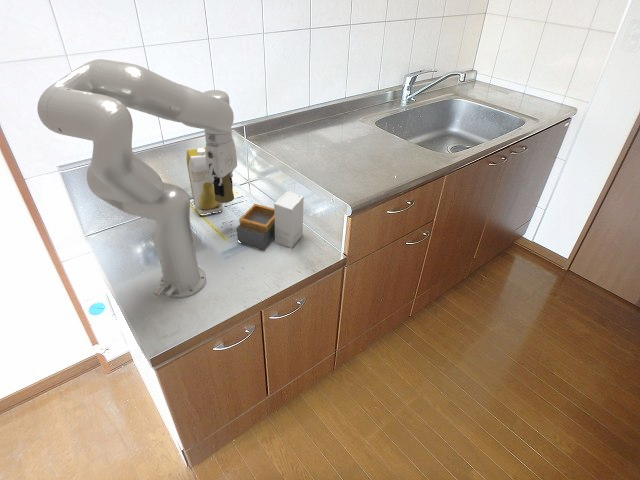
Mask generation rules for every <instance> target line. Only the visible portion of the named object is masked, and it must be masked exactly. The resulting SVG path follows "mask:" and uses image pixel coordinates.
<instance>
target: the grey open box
mask: <svg viewBox="0 0 640 480" xmlns="http://www.w3.org/2000/svg"><path fill="white" fill-rule="evenodd" d="M238 221H239V224H238V226H237V227H236V237H237V241H238V240H239V241H240V242H241V244H240V245H243V246H244V245H245V246H247V247H250V248H254V249H257V250H260V251H263V252H264V251H266V249H267V248H268V247H269V246H270V245H271V243H272V242H274V241H275V215H274V207H268V206H265V205H262V204H259V203H258V204H257V203H254V204H253V205H252V206H250V208H249V209H248V210H247V211H246V212H245V213H244V214H243V215H242V216H241V217H240V218H239V220H238Z"/></svg>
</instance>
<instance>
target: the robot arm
mask: <svg viewBox="0 0 640 480" xmlns="http://www.w3.org/2000/svg"><path fill="white" fill-rule="evenodd" d="M230 103H231V102H230V97H229V94H228V93H227V92H225V91H223V90H221V89H211V90H206V91H204V92H203V91H199V90H196V89H195V88H192V87H189V86H187V85H183V84H182V83H181V84H180V83H177V82H175V81H173V80H171V79H168V78H166V77H164V76H162V75H159V74H158V73H156V72H154V71H153V70H152V71H151V70H149V69H147V68H146V67H143V66H141V65H138V64H134V63H129V62H123V61H118V60H117V61H116V60H110V59H103V58H102V59H101V58H100V59H99V58H97V59H93V60H91V61H88V62H86V63H84V64H82V65H80V66H79V67H77V68H75V69H74V70H71V72H69V73H67V74H66V75H65V76H64V77H61V78H60V79H59V80H57V81H56V82H54V83H52V84H51V85H50V86H49V87H47V88H46V89H45V90H43V92H42V94H41V95H40V96H39V100H38V101H37V115H38V117H39V119H40V121H41V123H42V124H43V125H44V126H45V127H46V128H47V129H48V130H49V131H52V132H54V133H56V134H59V135H61V136H65V137H66V136H68V137H72V138H78V139H82V140H87V141H92V143H93V145H92V147H93V148H92V155H91V156H92V157H91V159H90V164H89V165H88V168H87V170H86V181H87V182H86V183H87V186H88V188H89V189H90V191H91V192H92V194H94V195H95V196H96V197H97V198H98V199H100V200H102V201H104V202H105V203H106V204H109V205H111V206H112V207H114V208H116V209H117V210H120V211H121V212H123V213H126V214H128V215H132V216H135V217H141V218H144V219H147V220H151V221H153V222H155V223H157V225H156V227H155V228H154V230H153V233H152V238H153V242H154V247H155V249H156V254H157V258H158V262H159V264H160V269H161V272H162V275H161V277H160V279H159V284H158V285H159V287H158V288H157V289H156V290H155V291H154V292H153V293H152V294H153V297H155V298H157V299H158V298H159V299H160V297H161V296H162V295H163V294H164V296H165V297H166V298H167V297H168V298H169V297H171V298H175V299H176V298H179V299H180V298H187V297H190V296H193V295H194V294H196V293H198V292H199V291H200V290H202V289H203V288H204V286H205V284H206V281H207V277H206V273H205V271H204V269H202V268H201V267H200V266H199V265H198V264H199V263H198V260H197V254H196V248H195V242H194V238H193V233H192V227H191V213H190V212H191V198H190V195H189V193H188V192H187V191H186V190H185V189H184V188H183V187H181V186H178V185H177V184H172V183H169V182H165V181H163V180H162V177H161V176H160V175H159V174H158V172H157V171H156V170H154V168H152V167H151V166H150V165H149V164H148V163H146V162H145V161H144V160H143V159H141V158H140V157H139V156H138V155H137V154H136V153H134V151H133V147H132V146H133V144H132V142H133V131H134V130H133V129H134V123H133V118H132V115H131V112H130V110H129V109H132V110H135V111H138V112H142V113H144V114H147V115H150V116H154V117H157V118H160V119H162V120H167V121H172V122H176V123H181V124H182V125H184V126H186V127H190V128H196V129H199V130H200V129H201V130H204V137H205V138H204V139H205V147H206V168H207V173H208V178H207V181H209V182H212V184H214V192H215V195H220V196H222V197H223V196H224V185H222V178H223V177H225V176H226V175H227V174H229V173H230V172H231V174H230V176H229V177H230V181H231V186H232V190H233V189H234V188H233V175H234V174H233V172H234V170H235V169H236V168H237V166H238V159H237V158H238V157H237V156H238V155H237V151H236V150H237V149H236V145H235V140H234V138H233V133H232V132H233V131H232V126H233V124H234V122H235V121H234V120H235V118H234V117H235V116H234V112H233V108H232V106H231V105H230ZM216 177H218V178H219V180H217V179H216Z"/></svg>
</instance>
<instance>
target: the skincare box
mask: <svg viewBox="0 0 640 480" xmlns="http://www.w3.org/2000/svg"><path fill="white" fill-rule="evenodd" d="M304 199H305V197H304V195H301V194H297V193H294V192H292V191H285V192H284V193H283V194H282V195H281V196H280V197H279V198H278V199H276V201H275V202H274V203H273V205H274V207H273V209H274V215H275V238H274V242H275V243H276V244H279V245H282V246H284V247H287V248H289V249H292V248H293V247H294V246H295V245H296V243H297V242H298V241H299V240H300V239H301V238H302V237H303V234H304V233H303V230H304Z"/></svg>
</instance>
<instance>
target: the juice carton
mask: <svg viewBox="0 0 640 480" xmlns="http://www.w3.org/2000/svg"><path fill="white" fill-rule="evenodd" d="M186 165H187V166H186V167H187V171H188V178H189V183H190V188H191V195H192V199H193V203H194V206H195V208H196V211H197V213H198V214H207V213H213V212H219V211H223V204H224V203H219V202H217V201H216V200H215V192H214V184H212V182H209V181H207V178H208V173H207V168H206V146H205V147H199V148H187V150H186Z"/></svg>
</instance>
